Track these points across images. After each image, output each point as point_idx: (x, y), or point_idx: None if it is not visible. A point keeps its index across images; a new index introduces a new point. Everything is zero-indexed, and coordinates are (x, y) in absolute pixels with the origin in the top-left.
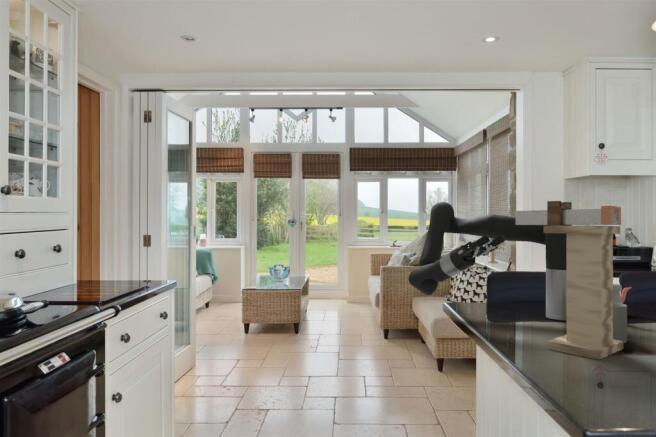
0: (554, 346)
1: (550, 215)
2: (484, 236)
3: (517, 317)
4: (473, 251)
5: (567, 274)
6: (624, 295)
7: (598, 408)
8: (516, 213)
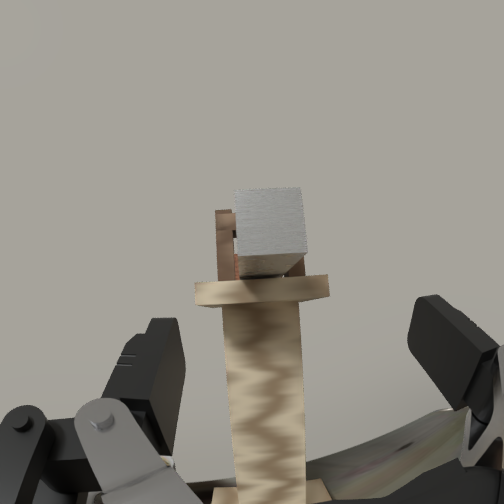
0: None
1: None
2: (442, 305)
3: None
4: None
5: (303, 397)
6: None
7: (445, 421)
8: (300, 200)
